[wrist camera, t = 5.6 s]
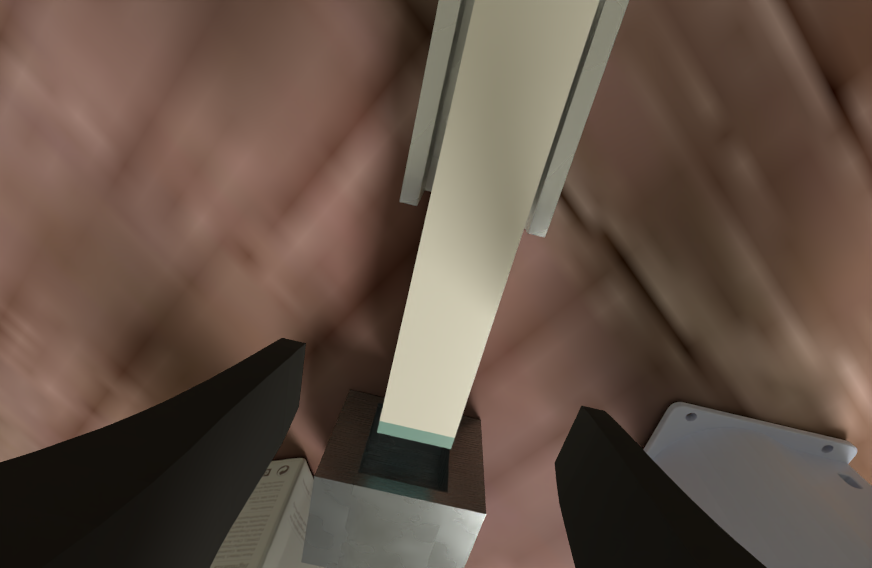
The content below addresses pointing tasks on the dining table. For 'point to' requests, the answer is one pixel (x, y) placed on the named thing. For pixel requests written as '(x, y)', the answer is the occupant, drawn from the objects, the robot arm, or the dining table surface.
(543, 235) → the sleeve
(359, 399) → the socket
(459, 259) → the inner rod
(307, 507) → the skincare box
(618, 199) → the dining table surface
